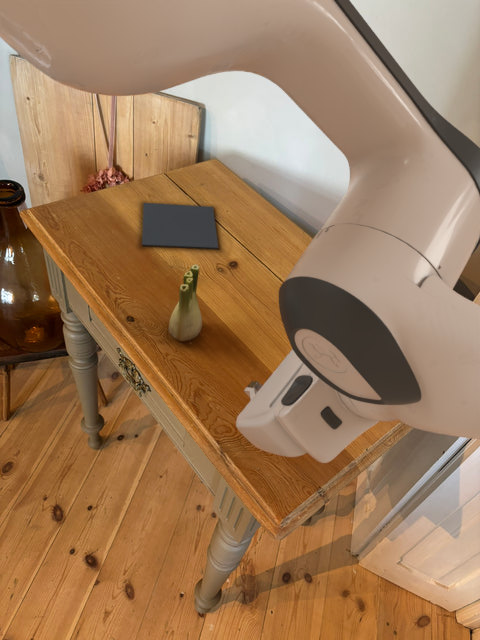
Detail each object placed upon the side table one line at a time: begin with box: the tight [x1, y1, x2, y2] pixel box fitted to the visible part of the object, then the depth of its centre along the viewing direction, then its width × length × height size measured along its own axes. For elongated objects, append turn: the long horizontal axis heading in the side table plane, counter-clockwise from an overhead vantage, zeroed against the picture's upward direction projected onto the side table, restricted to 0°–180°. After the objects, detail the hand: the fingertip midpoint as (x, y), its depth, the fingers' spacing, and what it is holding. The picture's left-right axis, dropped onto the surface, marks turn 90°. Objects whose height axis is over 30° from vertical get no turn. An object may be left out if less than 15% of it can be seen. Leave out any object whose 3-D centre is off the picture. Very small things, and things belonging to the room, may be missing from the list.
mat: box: [141, 202, 219, 250], centre depth 90 cm, size 14×13×1 cm
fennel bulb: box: [168, 264, 203, 342], centre depth 68 cm, size 6×5×12 cm
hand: (276, 359), depth 53 cm, fingers open, 8 cm apart
